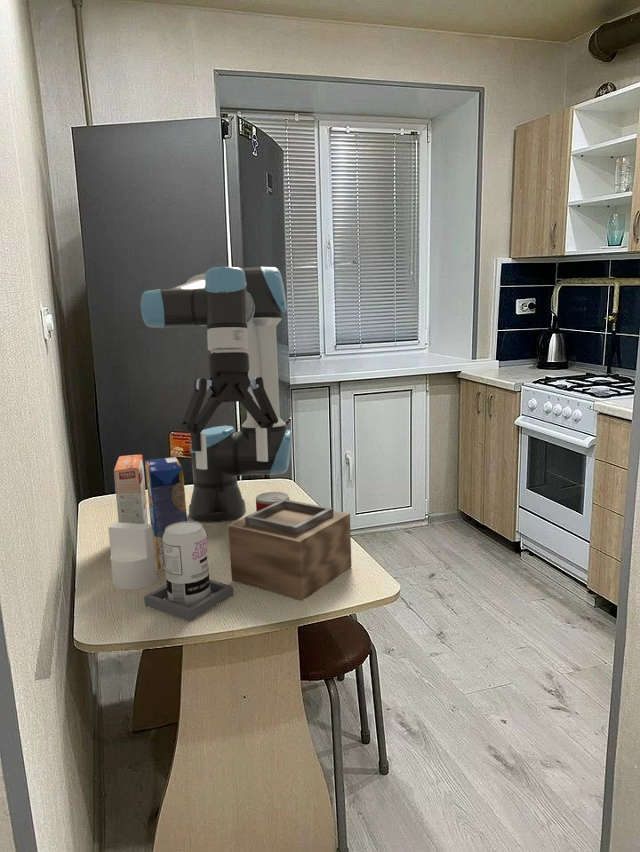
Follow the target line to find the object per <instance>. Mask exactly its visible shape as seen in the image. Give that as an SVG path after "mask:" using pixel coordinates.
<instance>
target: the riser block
mask: <svg viewBox="0 0 640 852" xmlns="http://www.w3.org/2000/svg"><path fill="white" fill-rule="evenodd" d="M227 529H228V546H229V557H230V558H229V559H230V572H231V573H230V575H231V581H232V582H236V583H238V584H239V583H240V584H243V585H246V586H249V587H253V588H256V589H260V590H264V591H267V592H270V593H274V594H277V595H282V596H283V597H288V598H290V599H291V598H292V599H296V600H298V601H304V600H306V599H307V598H309V597H310V596H311V595H313V594H314V593H316V592H317V591H319V590H320V589H322V588H323V587H324V586H326V585H327V584H329V583H330V582H332V581H333V580H334V579H335V580H336V578H338V577H339V576H340V575H342V574H343V573H345V572H347V570H349V569H351V568H352V566H353V565H352V543H351V542H352V541H351V539H352V536H351V513H349V512H343V511H339V510H334V508H333V507H328V506H322V505H318V504H311V503H307V502H300V501H295V500H292V499H291V500H290V499H289V500H286V499H283V500H281V501H279V502H277V503H274V504H272V505H270V506H268V507H266V508H263V509H261V510H259V511H257V512H256V511H254V512H252V513H250V514H248V515H246V516H245V517H243V518H241V519H239V520H236V521H235V522H233V523H230V524H229V525H227Z"/></svg>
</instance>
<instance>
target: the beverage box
mask: <svg viewBox="0 0 640 852" xmlns="http://www.w3.org/2000/svg"><path fill="white" fill-rule="evenodd" d="M144 464H145V465H144V466H145V474H146V475H145V476H146V487H147V495H148V496H147V497H148V506H149V508H148V509H149V519H150V520H149V521H150V525H152V529H153V539H154V549H155V554H156V565H157V568H158V570H159V571H160V570H164V569H165V559H164V548H163V535H164V532H165V529H166V527H168V526H169V525H171V524H175V523H179V522H187V521H188V517H187V516H188V514H187V503H186V493H185V490H186V489H185V479H184V477H185V476H184V468H183V466H182V465H181V463H180V461H179V460H178V459H177V456H173V457H164V458H156V459H147V460H144Z"/></svg>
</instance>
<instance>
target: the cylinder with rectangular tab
mask: <svg viewBox="0 0 640 852" xmlns="http://www.w3.org/2000/svg"><path fill="white" fill-rule="evenodd" d="M107 529H108V537H109V538H108V539H109V547H110V549H109V550H110V566H111V574H112V583H113V586H114V587H115V588H117V589H120V590H125V589H126V590H129V589H130V590H138V588H139V589H142V588H145V586H146V587H148V586H151V585H152V584H154V583H155V582H156V581H157V580H158V578H159V577H158V569H157V568H158V565H157V562H156V554H155V549H154V539H153V529H152V525H151V523H150V524H149V523H148V524H135V523H120V522H114V523H112V524H109V526H108V527H107Z"/></svg>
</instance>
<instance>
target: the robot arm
mask: <svg viewBox="0 0 640 852" xmlns="http://www.w3.org/2000/svg"><path fill="white" fill-rule="evenodd" d="M140 310H141V317H142V321H143V322H144V324H145V325H146V326H147V327H149V328H160V329H165V328H179V327H181V328H182V327H206V329H207V330H206V332H207V334H206V336H207V350H208V351H209V352H210V353H209V354H208V371H209V376H210V377H209V379H207V378H196V379H194V382H193V383H194V385H193V393H192V395H191V397H190V399H189V402H188V405H187V408H186V411H185V413H184V415H183V418H182V420H181V424H180V427H179V428H180V430H182V431H185V432H188V433H189V434H190V451H189V453H190V458H191V469H192V479H193V483H192V484H193V490H192V494H191V499H190V503H189V506H188V514H189V518H190V519H192V520H193V521H195V522H201V523H218V522H219V523H220V522H228V521H230V520H234V519H238V518H240V517H241V516H243V515H245V513H246V501H245V500H244V498H243V495H242V492H241V490H240V488H239V484H238V476H242V477H243V476H263V475H264V476H265V475H266V476H272V475H282V474H285V473H286V472H287V471H288V469H289V465H290V460H291V451H292V438H293V437H292V435H293V432H292V430H290V429H287V423H286V422H285V421H284V420H283V419H282V418H281V412H280V411H281V408H280V389H279V388H280V387H279V367H278V364H279V363H278V341H277V340H278V339H277V338H278V337H277V326H278V325H279V323H280V322H281V321H282V319H283V317H282V314H283V313H287V311H288V307H287V298H286V291H285V287H284V281H283V277H282V274H281V270H279V268H277V267H275V266H262V265H261V266H251V267H250V266H249V267H248V266H247V267H235V266H218V267H216V266H215V267H210V268H208V269H207V271H205V272H202V273H199V274H197V275H196V274H195V275H193V276H191V277H190V278H189V279H187V281H186V282H185V283H183V284H180V285H178V286H175V287H171V288H169V289H159V288H156V289H152V290H151V289H149V290H145V291H144V292H143V293H142V295H141V299H140ZM209 389H210V390H211V391H212V392H211V393H210V395H209V396H208V397H207V402H206V403H205V404H204V405H203V403H204V399H206V395H207V391H208V390H209ZM231 402H233V403H235V402H238V403H240V404H241V405H242V406H243V407H244V409H245V410H246V414H247V416H246V419H245V421H244V422H243V423H242V425H241V431H236V430H235V428H234V426H232V425H221V426H213V427H210V428H205V427H206V426H207V424H208V423H209V421H210V420H211V418H212V416H213V415H214V413H215V412H216V410H217V409H218V407H219V406H220V405H221V404H222V403H231ZM202 405H203V407H202Z"/></svg>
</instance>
